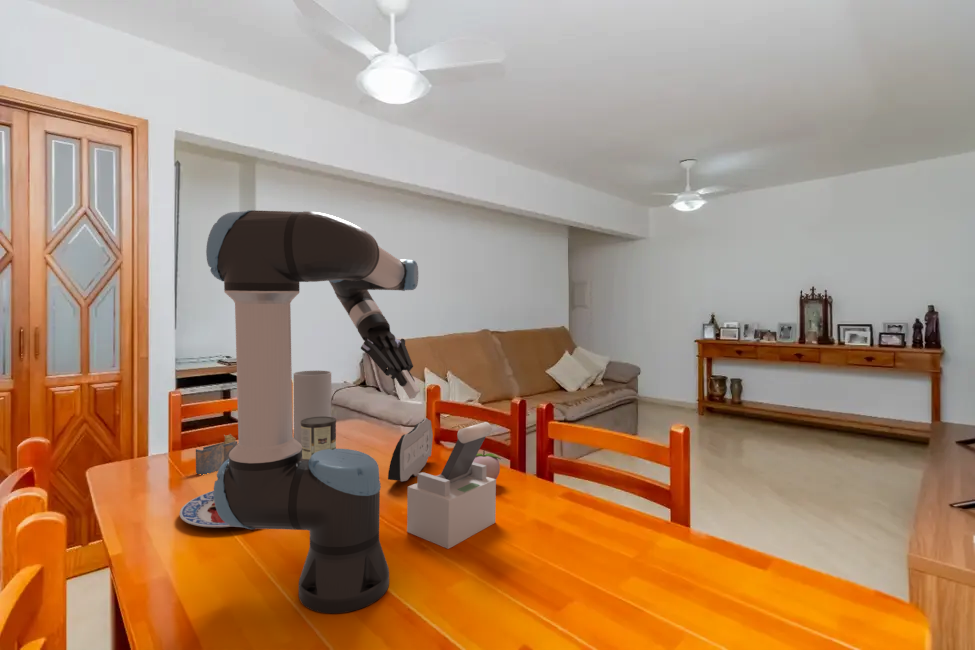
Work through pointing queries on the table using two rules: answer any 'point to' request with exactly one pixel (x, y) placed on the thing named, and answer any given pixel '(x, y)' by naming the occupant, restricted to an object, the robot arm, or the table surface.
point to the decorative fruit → (489, 463)
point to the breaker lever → (465, 451)
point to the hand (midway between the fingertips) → (414, 394)
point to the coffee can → (317, 435)
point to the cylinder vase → (311, 397)
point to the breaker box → (451, 506)
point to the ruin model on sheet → (214, 455)
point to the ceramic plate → (202, 512)
